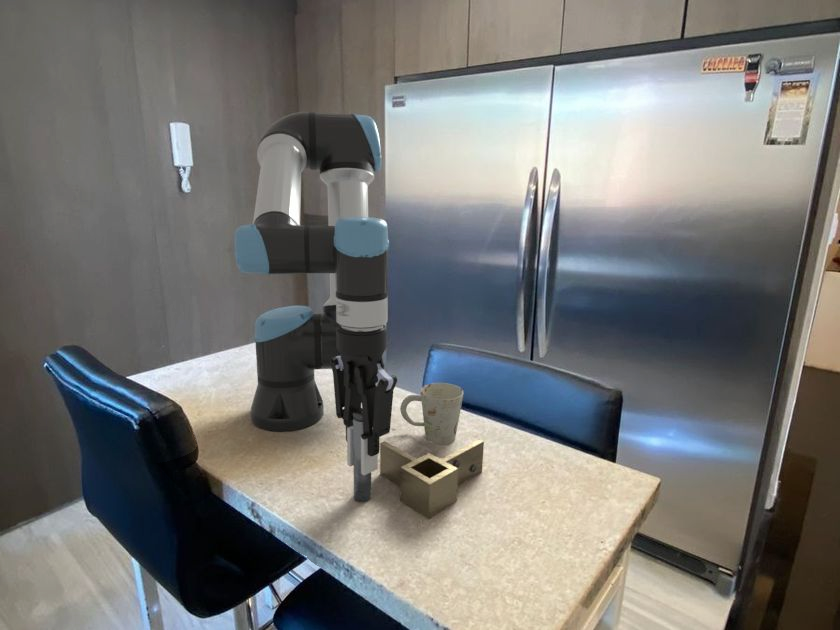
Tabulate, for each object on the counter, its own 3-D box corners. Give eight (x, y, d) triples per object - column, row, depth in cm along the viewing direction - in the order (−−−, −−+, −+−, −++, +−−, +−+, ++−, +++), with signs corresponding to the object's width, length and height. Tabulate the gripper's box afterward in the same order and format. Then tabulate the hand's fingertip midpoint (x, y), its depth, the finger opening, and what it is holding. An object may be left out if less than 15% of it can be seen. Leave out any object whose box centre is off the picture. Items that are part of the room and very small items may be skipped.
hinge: (368, 480, 88) (368, 448, 87) (434, 447, 100) (435, 418, 98) (428, 519, 79) (429, 484, 77) (494, 478, 90) (496, 446, 88)
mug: (458, 449, 99) (460, 401, 97) (394, 441, 101) (395, 394, 99) (463, 430, 107) (465, 384, 104) (404, 423, 109) (405, 378, 107)
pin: (350, 497, 84) (349, 411, 80) (363, 490, 86) (363, 406, 82) (361, 504, 82) (360, 417, 78) (374, 497, 84) (375, 412, 80)
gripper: (309, 318, 79) (314, 456, 85) (377, 342, 68) (376, 498, 74) (349, 310, 84) (350, 441, 90) (417, 331, 73) (414, 478, 79)
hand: (362, 466), depth 82 cm, fingers closed on pin, 3 cm apart
